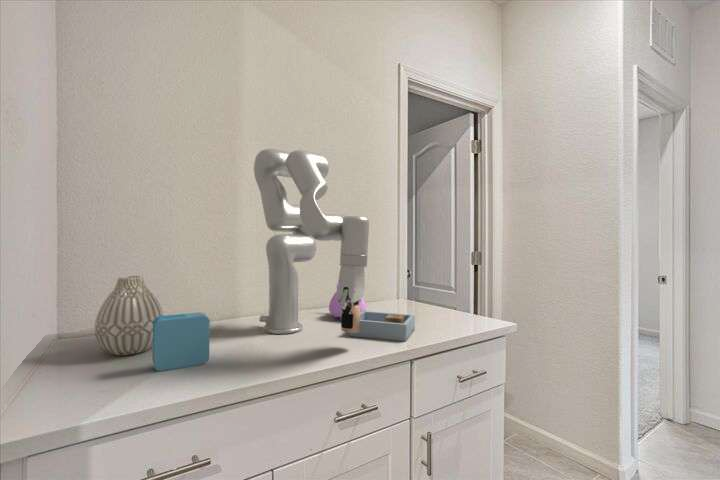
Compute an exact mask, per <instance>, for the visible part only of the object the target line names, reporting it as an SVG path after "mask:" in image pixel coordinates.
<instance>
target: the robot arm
mask: <svg viewBox="0 0 720 480" xmlns="http://www.w3.org/2000/svg"><path fill="white" fill-rule="evenodd" d="M253 163H254V164H253V172H254V173H253V174H254V178H255V182H256V184H257V187H258V190H259V193H260V197H261V203H262V204H261V205H262V208H263V213H264V219H265V223H266V226H267V228H268V229H269V230H270V231H272V232H277V233H279V232H282V234H281V233H279V234H275V235H273V236H271V237H269V239H268V240H267V242H266V245H265V253H266V259H267V264H268V265H267V266H268V289H269V290H268V315H267V314H261V315H260V317H259V319H258V321H259V322H262V323H265V325H264V326H263V330H264V332H266V333H267V334H268V333H269V334H274V335H276V334H277V335H286V334H294V333H297V332H300V331H302V330H303V327H304V325H303V324H302V323H301V322H299V274H298V270H297V269H296V267H295V266H294V263H302V262H304V263H305V262H309V261H311V260H313V259H314V257H315V255H316V252H317V243H316V241H320V242H321V241H322V242H323V241H324V242H325V241H332V242H333V241H335V242H337V241H340V256H339V257H340V259H339V266H340V269H339V273H338V282H337V283H338V291H337V290H336V291H337V301H338V302H340V306H341V308H342V311H341V313H342V318H341V317H340V319H341V320H340V327H342V328H348V329H352V328H353V314H352V311H353V303H354V304H359V305H360V302H361V299H362V298H363V299H364V294H365V277H366V275H365V274H366V273H365V268H368V253H369V252H368V250H369V236H370V235H369V233H370V232H369V231H370V221H369V219H368V217H366V216H358V215H355V216H354V215H343V214H334V213H332V214H331V213H323V212H322V210H321V209H320V206H318V204H317V201H318V200H320V199H321V198H323V196H325V194H326V193H327V191H328V188H329V187H328V182H327V181H326V180H325V178H326V177H327V176H328V174H329V170H330V169H329V167H330V165H329V163H328V161H327V159H326V157H325V156H324V155H322V154H319V153H315V152H311V151H306V150H300V149H299V150H294V151H291V152H289V151H285V150H282V149H281V150H280V149H275V148H266V149H262V150H260V151H259V152H258V153H257V154H256V157H255V159H254V162H253ZM278 177H284V178H290V179H291V178H292V181H293V182H294V184H295V186H296V188H297V189H298V192H299V193H300V195H301V198H300V200H299V204H291V203H290V202H289V200H288V199H289V198H288V195H287V191H286V189H285V186H284V185H283V183H282V182H281V181H280V179H279V178H278ZM286 232H287V233H286ZM291 232H292V233H291ZM284 233H285V234H284ZM290 233H291V234H290ZM347 300H350V302H347ZM347 305H350V308H349V306H347ZM360 307H361V306H360Z"/></svg>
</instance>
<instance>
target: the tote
mask: <svg viewBox="0 0 720 480" xmlns="http://www.w3.org/2000/svg"><path fill="white" fill-rule="evenodd" d="M389 314H392V315H404V323H403V324H402V323H391V322H385V317H387V316H388V315H389ZM415 328H416V315H415V314H405V313H395V312H394V313H392V312H382V311H370V310H368V311H367V310H366V311H362V312H360V323H359V331H358V332H355V333H348V336H349V337H360V338H368V339H379V340H387V341H388V340H390V341H397V342H399V341H400V342H407V341H408V339H409V338H410V337H411V336H412V335H413V333H414V332H415V330H416V329H415Z"/></svg>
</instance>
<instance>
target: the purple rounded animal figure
mask: <svg viewBox="0 0 720 480" xmlns="http://www.w3.org/2000/svg"><path fill="white" fill-rule="evenodd" d="M335 285H336V291H335V292H334V294H333V296H332V297H331V299H330V301H329V304H328V305H329V306H328V311H329V313H330V314H331V315H332V316H333V317H334V318H339V321H341V318H342V313H341V311H342V308H341V306H340V302H338V301H337V291H338V282H337V283H335ZM347 302H350V300H347ZM360 306H361V307H360V312H362V311H367V307H366V306H367V305H366V302H365V299H364V297H363V298H362V299H361V302H360Z"/></svg>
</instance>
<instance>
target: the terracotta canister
mask: <svg viewBox="0 0 720 480" xmlns="http://www.w3.org/2000/svg"><path fill="white" fill-rule="evenodd" d="M347 306H349V308H350V305H347ZM352 314H353V328H352V329H348V328H342V327H341V326H340V327H341V329H340V330H341V332H344V333H348V334H349V333H355V332H358V331H359V323H360V305H359V304H354V303H353V311H352Z"/></svg>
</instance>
